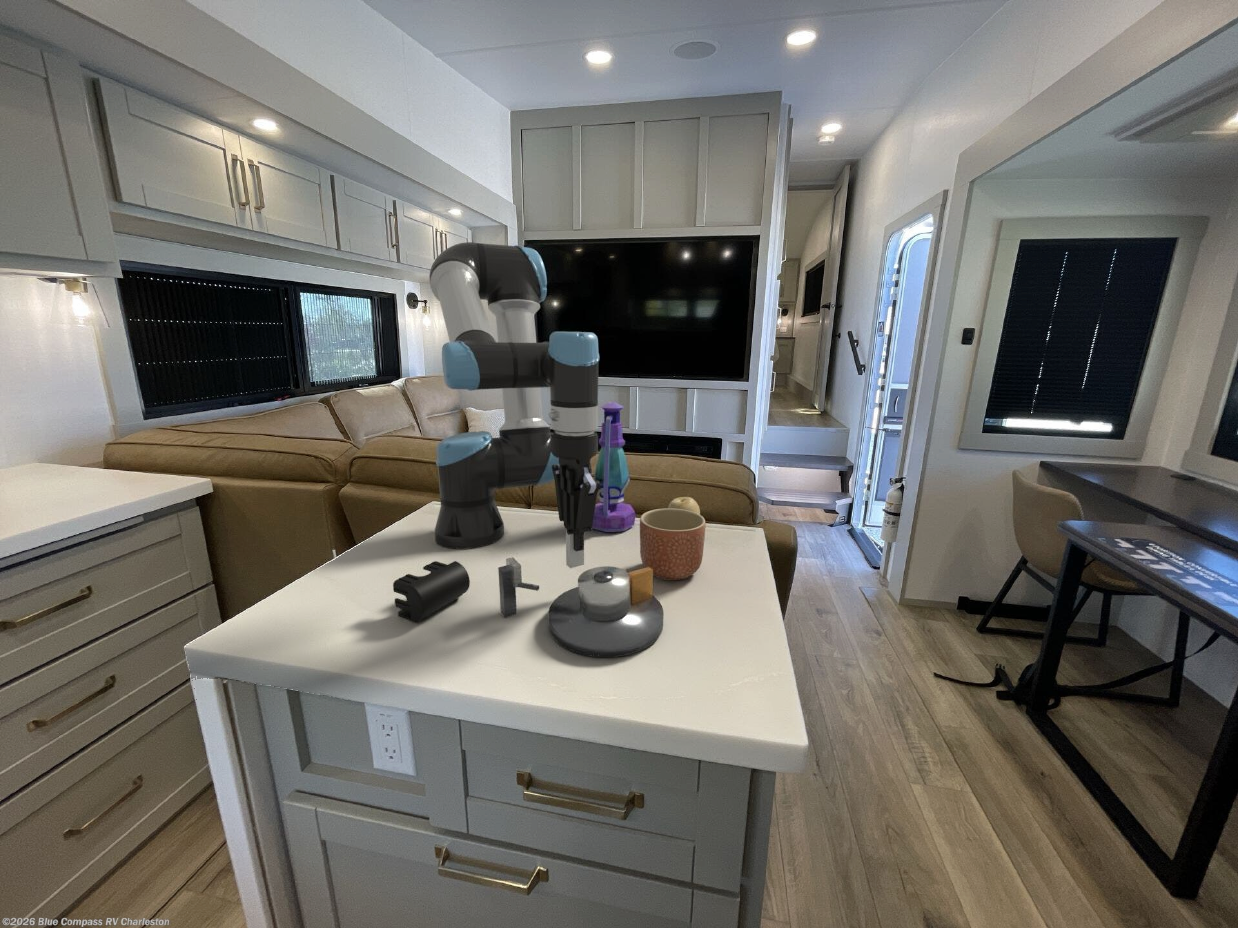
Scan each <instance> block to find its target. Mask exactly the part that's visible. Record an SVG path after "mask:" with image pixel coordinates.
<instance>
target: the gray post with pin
mask: <svg viewBox="0 0 1238 928" xmlns="http://www.w3.org/2000/svg"><path fill="white" fill-rule="evenodd" d="M505 564H506V565H503V566H499V567H498V568H497V569H498V585H499V586H498V587H499V605H500V613H501V615H503V617H504V618H508V617H513V616H515V615H517V614H518V611H517V589H516V588H520V589H526V590H532V591H537V592H538V591H540V585H539V584H538V585H537V584H532V583H527V582H522V580H523V579H522V564H520V563H519V562H518V560H517V559H516V558H514V557H513V556H512V557H508V558H507V557H506V558H505Z"/></svg>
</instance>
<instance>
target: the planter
mask: <svg viewBox="0 0 1238 928" xmlns="http://www.w3.org/2000/svg"><path fill="white" fill-rule="evenodd" d="M639 519H640V520H639V545H640V546H639V549H640V550H639V552H640V553H639V555H640V561H641V563H642V565H643V566H644V568H647V567H650V568H651V569H653V577H654V576H655V577H657V578H659V579H662V580H664V581H665V580H666V581H679V580H684V579H687V578H690V576H693V575H694V574H695V573H696V572H697V571H698V570H699V569H700V567H701V565H702V561H703V557H704V546H705V539H706V526H707V525H706V520H705V518H704V516H703V515H701V514H700V515H699V514H697V513H695V512H692V511H688V510H683V509H673V508H668V507H667V508H666V507H665V508H657V509H652V510H649V511H646V512H644V513H643V514H641V515H640V518H639Z"/></svg>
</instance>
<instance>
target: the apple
mask: <svg viewBox="0 0 1238 928" xmlns="http://www.w3.org/2000/svg"><path fill="white" fill-rule="evenodd" d="M667 508H673V509H683V510H688V511H692V512H695V513H697V514H699V515H701V510H700V506H699V504H698V502H697V501H696V500H695V499H694V498H692V497H689V496H683V497H682V496H680V497H675V498H674V499H672V500H671V502H670V503H669V504H668V507H667Z"/></svg>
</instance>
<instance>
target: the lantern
mask: <svg viewBox="0 0 1238 928" xmlns="http://www.w3.org/2000/svg"><path fill="white" fill-rule="evenodd" d="M599 407H600V408H601V409H602V410H604V411H603V422H602V423H601V434H600V438H598V445H600V446H601V448H600V450H599V452H598V453H599V454H598V456H597V459H596V460H597V461H596V465H595V470H594V474H593V480H594V481H599V482H600V488H599V492H598V493H599V494H598V496H599V497H598V501H599V502H596V505H595V512H594V518H593V525H592V530H593V529H594V530H597V531H601V532H604V533H616V532H625V531H626V530H628V529H631V528H632V527H634V525H635V521H636V512H635V510H634V508H633V506H632V505H631V504H629V503H624V502H625V499H624V497H625V493H624V492H625V490H626V489H627V486H629V483H630V474H629V469H628V463H627V459H626V455H625V451H624V449H623V447H624V446H625V445H626V440H625V439H624V438H623V425H622V423H621V422H620V421H621V411H622V409H624V408H625V406H623V405H621V404H619V403H617V402H615V401H609V402H607V403H605V404H601V405H600V406H599Z"/></svg>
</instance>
